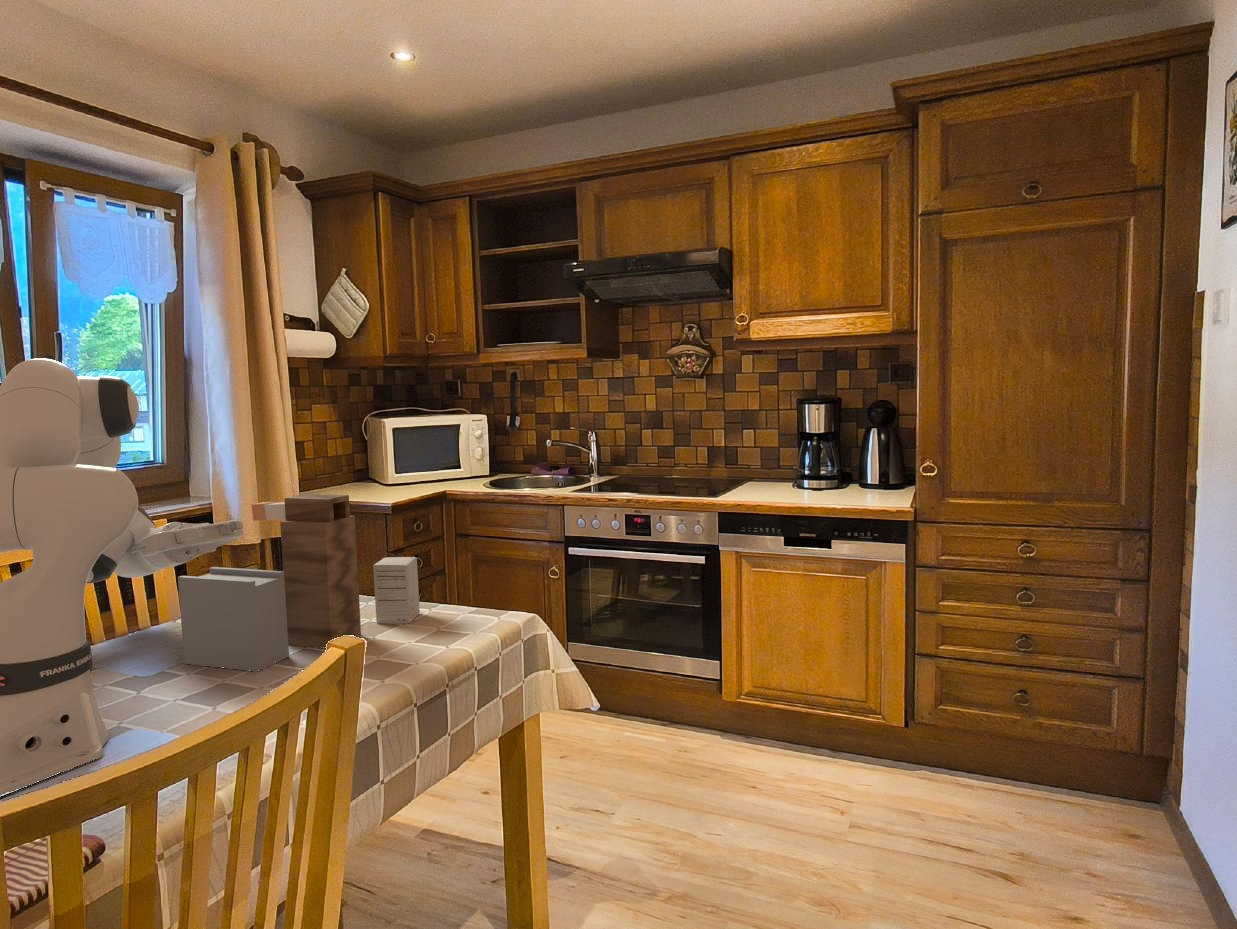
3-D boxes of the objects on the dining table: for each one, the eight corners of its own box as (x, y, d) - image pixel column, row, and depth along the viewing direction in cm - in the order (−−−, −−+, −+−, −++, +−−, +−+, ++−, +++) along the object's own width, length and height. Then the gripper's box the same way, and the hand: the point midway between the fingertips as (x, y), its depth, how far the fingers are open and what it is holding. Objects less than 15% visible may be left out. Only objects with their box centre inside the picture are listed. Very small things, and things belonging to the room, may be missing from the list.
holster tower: (331, 649, 145) (323, 500, 142) (287, 645, 148) (278, 499, 145) (361, 634, 154) (353, 494, 151) (319, 630, 157) (311, 492, 154)
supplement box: (387, 613, 168) (384, 556, 167) (420, 613, 168) (418, 556, 167) (375, 624, 161) (372, 564, 160) (410, 623, 161) (407, 564, 159)
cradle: (256, 672, 134) (250, 581, 132) (184, 664, 139) (177, 577, 137) (289, 656, 142) (283, 571, 140) (219, 649, 146) (213, 566, 145)
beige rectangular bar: (312, 518, 147) (310, 501, 147) (253, 520, 151) (251, 504, 151) (323, 515, 150) (321, 499, 150) (265, 517, 154) (263, 502, 154)
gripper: (122, 537, 151) (170, 519, 146) (210, 523, 170) (256, 507, 165) (130, 568, 151) (178, 551, 146) (218, 550, 170) (263, 535, 165)
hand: (220, 527), depth 156 cm, fingers open, 8 cm apart
